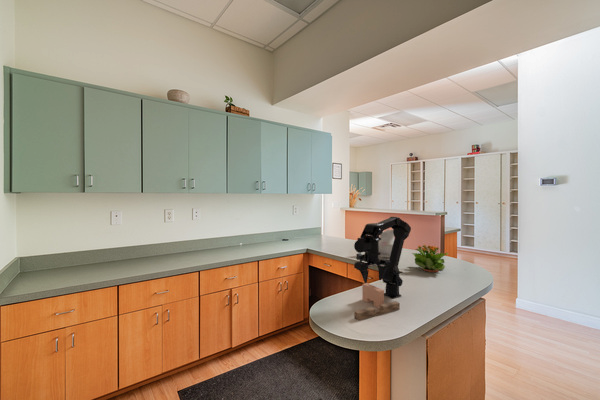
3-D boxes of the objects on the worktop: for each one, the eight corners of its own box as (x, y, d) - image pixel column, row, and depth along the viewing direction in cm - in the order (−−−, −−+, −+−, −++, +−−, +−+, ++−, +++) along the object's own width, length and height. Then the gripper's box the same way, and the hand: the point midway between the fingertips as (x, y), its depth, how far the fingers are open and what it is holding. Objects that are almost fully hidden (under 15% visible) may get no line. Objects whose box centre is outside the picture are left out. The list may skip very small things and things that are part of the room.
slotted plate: (367, 298, 140) (367, 283, 140) (383, 307, 129) (383, 290, 129) (362, 299, 139) (362, 283, 139) (379, 308, 128) (379, 291, 128)
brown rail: (395, 307, 129) (395, 301, 129) (399, 309, 127) (399, 302, 127) (354, 318, 118) (354, 311, 118) (358, 320, 116) (358, 313, 116)
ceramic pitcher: (372, 259, 228) (372, 229, 225) (372, 252, 247) (372, 225, 244) (399, 260, 223) (400, 230, 220) (397, 253, 242) (397, 225, 239)
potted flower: (454, 276, 174) (455, 249, 174) (415, 275, 179) (415, 248, 179) (442, 266, 199) (442, 242, 198) (408, 265, 204) (408, 241, 203)
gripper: (375, 245, 145) (376, 274, 145) (347, 248, 136) (347, 279, 137) (391, 248, 135) (391, 280, 135) (361, 253, 126) (361, 286, 127)
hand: (372, 281), depth 134 cm, fingers open, 9 cm apart
